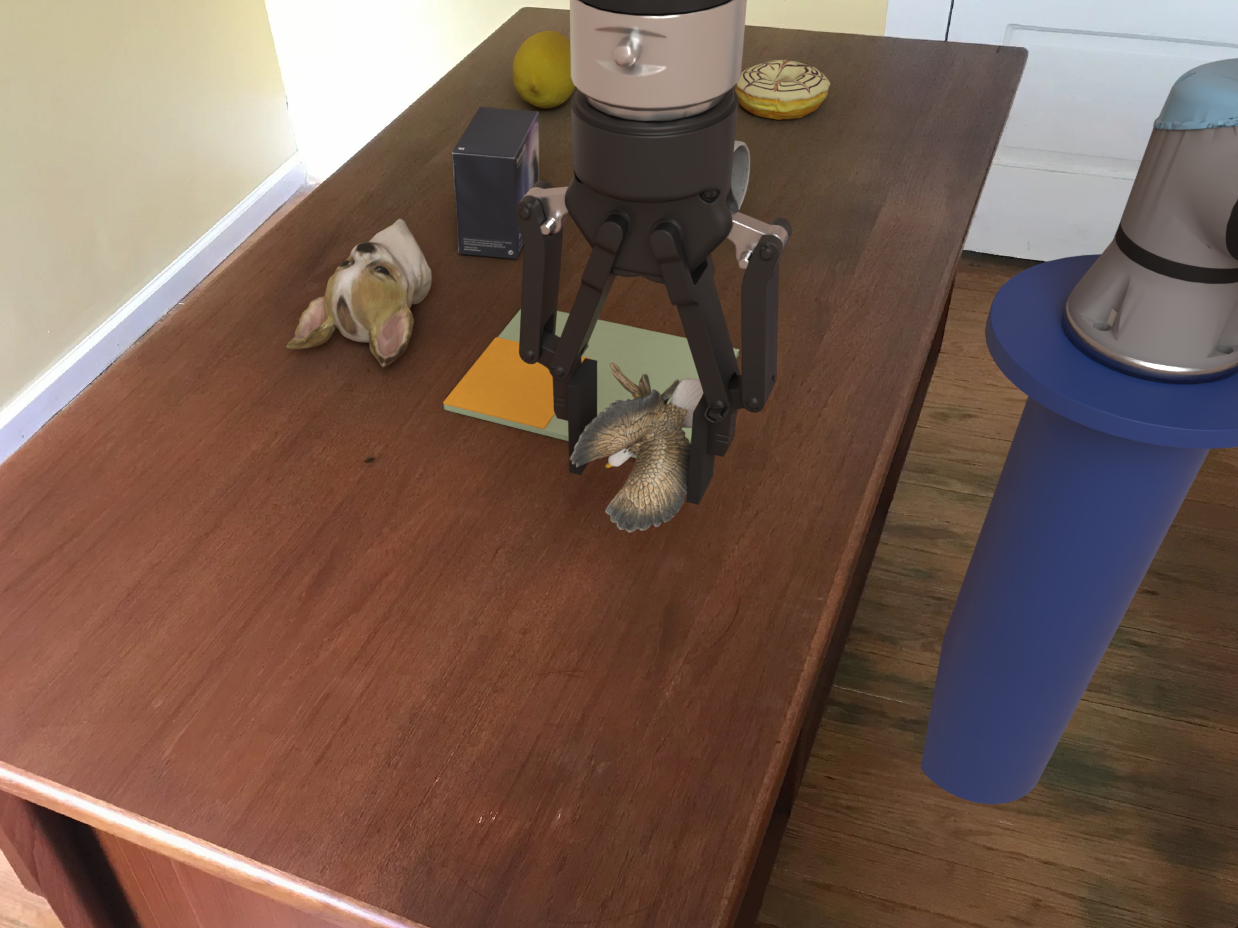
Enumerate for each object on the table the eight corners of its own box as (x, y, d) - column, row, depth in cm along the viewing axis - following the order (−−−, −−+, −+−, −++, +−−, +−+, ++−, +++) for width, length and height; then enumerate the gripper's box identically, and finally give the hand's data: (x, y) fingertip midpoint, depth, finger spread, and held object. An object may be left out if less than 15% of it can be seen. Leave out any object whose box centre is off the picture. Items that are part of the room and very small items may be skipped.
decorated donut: (832, 90, 130) (837, 58, 128) (818, 128, 123) (824, 95, 121) (744, 82, 133) (748, 50, 130) (726, 119, 126) (729, 86, 123)
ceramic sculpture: (453, 209, 96) (379, 309, 87) (464, 293, 102) (396, 394, 93) (345, 194, 99) (262, 289, 90) (362, 277, 105) (287, 373, 96)
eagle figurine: (573, 407, 69) (538, 479, 62) (641, 324, 65) (611, 391, 58) (670, 478, 70) (646, 557, 63) (743, 401, 66) (726, 476, 58)
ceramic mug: (674, 187, 115) (678, 115, 110) (748, 203, 112) (755, 130, 106) (628, 234, 109) (630, 160, 103) (704, 253, 106) (710, 178, 100)
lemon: (562, 125, 127) (561, 54, 122) (500, 117, 130) (496, 47, 124) (594, 88, 134) (594, 20, 128) (535, 81, 136) (532, 13, 131)
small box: (521, 261, 106) (516, 157, 99) (456, 256, 107) (447, 153, 100) (544, 208, 113) (541, 108, 106) (483, 204, 115) (476, 104, 107)
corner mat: (738, 355, 93) (739, 347, 93) (677, 469, 83) (677, 461, 83) (524, 309, 100) (524, 301, 100) (443, 410, 90) (443, 402, 89)
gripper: (423, 94, 50) (466, 474, 66) (857, 153, 44) (787, 558, 60) (492, 34, 55) (516, 403, 71) (894, 79, 48) (819, 473, 65)
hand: (640, 473), depth 66 cm, fingers closed on eagle figurine, 7 cm apart
